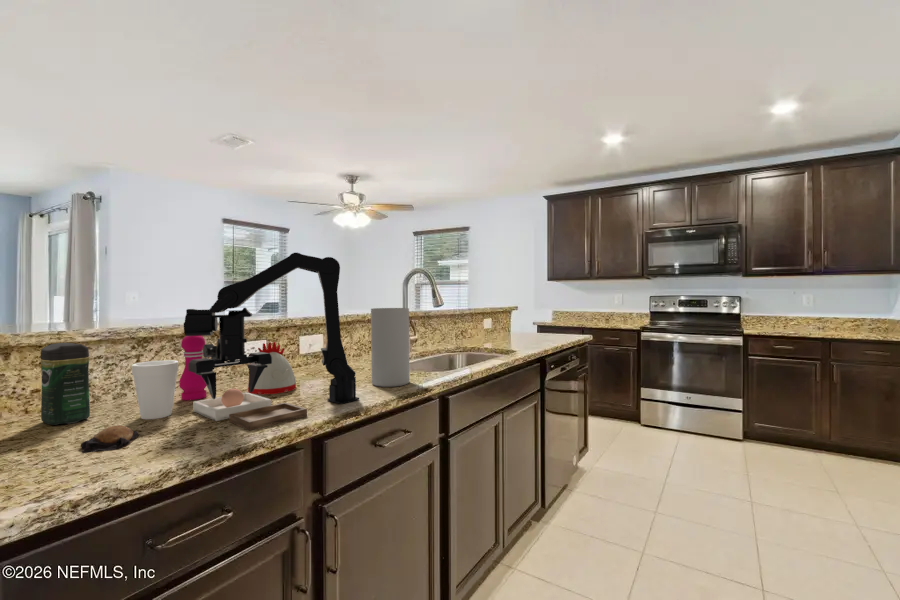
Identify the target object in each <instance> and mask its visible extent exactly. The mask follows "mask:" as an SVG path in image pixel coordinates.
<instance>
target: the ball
mask: <svg viewBox="0 0 900 600" xmlns="http://www.w3.org/2000/svg"><path fill="white" fill-rule="evenodd" d="M242 393H243V392H242V391H241V390H240V389H238V388H229V389H227V390H226V391H224V392H223V393H222V396H221V397H222V403H223V405H224V406H225V407H232V406H237V405H240V404H241V403H242V401H243V394H242Z"/></svg>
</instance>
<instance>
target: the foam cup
mask: <svg viewBox="0 0 900 600" xmlns="http://www.w3.org/2000/svg"><path fill="white" fill-rule="evenodd" d="M178 372H179V361H178V360H172V359H170V360H169V359H168V360H167V359H165V360H164V359H163V360H149V361H142V362H135V363H133V364H131V375H132V376H133V382H134V388H135V393H136V399H137V404H138V410H139V414H140V419H143V420H155V419H161V418H166V417H169V416H171V415H172V412H173V407H174V399H175V393H176V385H177V384H176V383H177V378H178Z"/></svg>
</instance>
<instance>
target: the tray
mask: <svg viewBox="0 0 900 600" xmlns="http://www.w3.org/2000/svg"><path fill="white" fill-rule="evenodd" d="M304 417H305V418H306V417H308V409H307V408H305V407H303V406H302V407H301V406H299V405H295V404H292V403H289V402H282V403H277V404H271V406H266V407H262V408H257V409H252V410H247V411H243V412H238V413H233V414H229V418H228V419H229V421H228V422H229V423H231V424H234V425H236V426H238V427H241V428H243V429H245V430H247V431H252V430H256V429H261V428H264V427H268V426H273V425H277V424H281V423H286V422H289V421H293V420H298V419H301V418H304Z"/></svg>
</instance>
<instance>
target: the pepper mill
mask: <svg viewBox="0 0 900 600" xmlns="http://www.w3.org/2000/svg"><path fill="white" fill-rule="evenodd" d="M205 344H206V339H205V337H203V336H184V337H183V338H182V340H181V344H180V345H181V348H182V349H183V350H184V351H183V357H184V358H185V363H184V364H185V365H184V369H183V371H182V374H181V376H180V379H179V382H178V383H179V385H178V386H179V389H181V390H182V392H181V396H180V397H181V400H182V401H199V400H203V399H205V398H206V397H207V393H208V392H207V390H206V387H207V385H206V383H205V381H204V379H203V378H202V377H201V376H200V375H197V374H195V373H194V372H190V371H188V364H189V362H190V361H191V360H193V359H202V358H203V357H204V355H203V346H204V345H205Z"/></svg>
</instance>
